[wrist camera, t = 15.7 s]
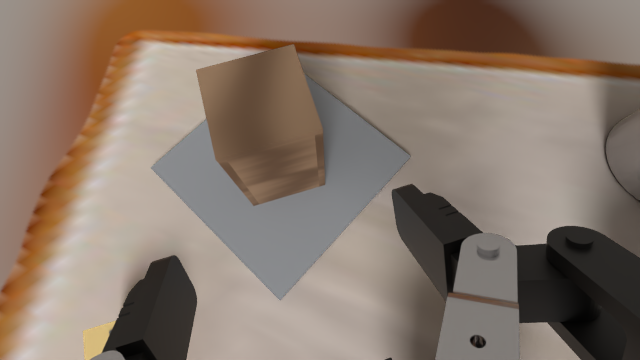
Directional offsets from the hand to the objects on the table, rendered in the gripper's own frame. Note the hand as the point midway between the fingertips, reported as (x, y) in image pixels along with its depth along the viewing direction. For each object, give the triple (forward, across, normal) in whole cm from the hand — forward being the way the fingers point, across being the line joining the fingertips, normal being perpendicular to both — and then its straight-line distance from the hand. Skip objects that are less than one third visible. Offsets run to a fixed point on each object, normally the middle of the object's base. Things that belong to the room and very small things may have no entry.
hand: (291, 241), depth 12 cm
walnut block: (+17, 0, +4) cm, 17 cm away
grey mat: (+18, 0, +4) cm, 18 cm away
